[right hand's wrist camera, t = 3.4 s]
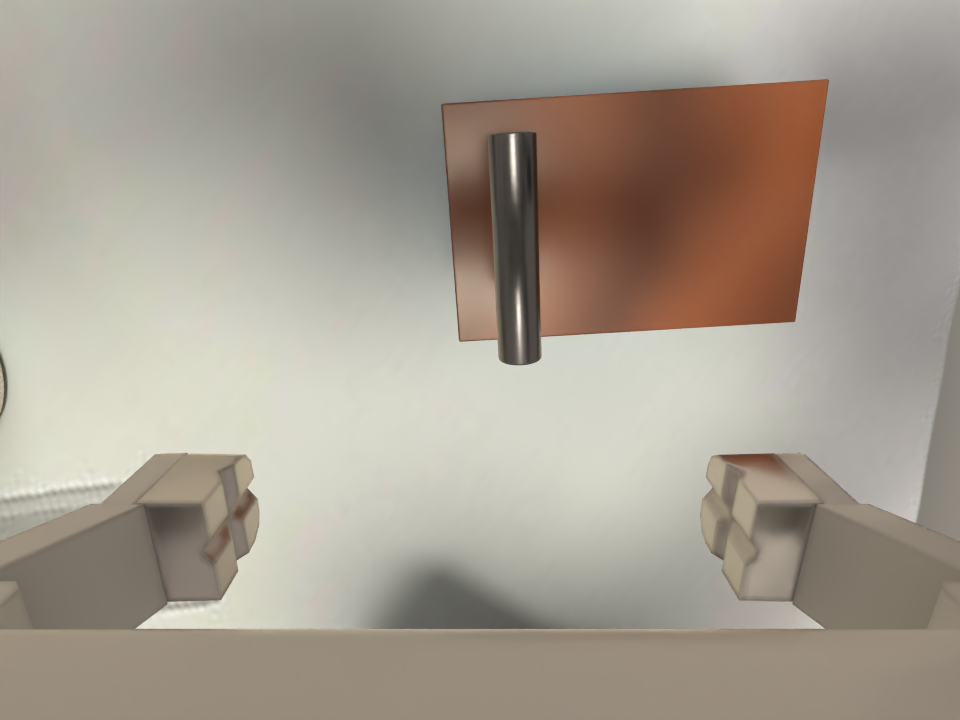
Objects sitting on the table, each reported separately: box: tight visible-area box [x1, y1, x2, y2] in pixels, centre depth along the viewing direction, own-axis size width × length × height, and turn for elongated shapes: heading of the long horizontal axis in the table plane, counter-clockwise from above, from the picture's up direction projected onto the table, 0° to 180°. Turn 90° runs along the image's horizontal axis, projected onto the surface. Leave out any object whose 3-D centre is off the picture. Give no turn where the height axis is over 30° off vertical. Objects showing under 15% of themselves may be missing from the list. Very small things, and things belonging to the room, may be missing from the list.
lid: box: [442, 79, 829, 365], centre depth 21 cm, size 15×10×8 cm, turn 93°
